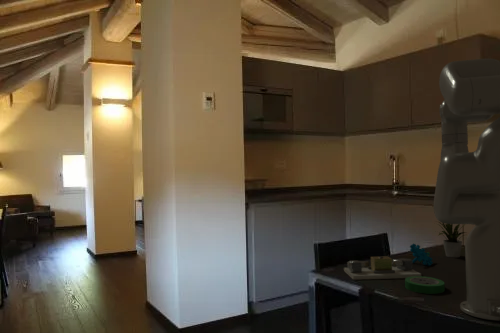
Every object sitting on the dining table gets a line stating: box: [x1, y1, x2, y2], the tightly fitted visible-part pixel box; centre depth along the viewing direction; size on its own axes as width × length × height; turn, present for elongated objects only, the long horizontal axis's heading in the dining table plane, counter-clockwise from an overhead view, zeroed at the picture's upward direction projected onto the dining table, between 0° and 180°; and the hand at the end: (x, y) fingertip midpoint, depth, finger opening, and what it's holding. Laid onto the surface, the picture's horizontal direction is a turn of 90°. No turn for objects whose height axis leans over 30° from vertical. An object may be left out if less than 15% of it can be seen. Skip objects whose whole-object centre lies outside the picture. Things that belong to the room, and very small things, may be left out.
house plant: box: [435, 220, 468, 258], centre depth 168 cm, size 14×14×16 cm
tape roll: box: [404, 275, 446, 295], centre depth 123 cm, size 11×11×3 cm
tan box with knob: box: [370, 255, 393, 271], centre depth 141 cm, size 6×4×5 cm, turn 92°
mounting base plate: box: [343, 265, 422, 281], centre depth 141 cm, size 12×23×2 cm, turn 92°
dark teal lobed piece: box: [409, 243, 434, 267], centre depth 155 cm, size 11×6×10 cm
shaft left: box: [346, 259, 370, 273], centre depth 141 cm, size 7×4×4 cm, turn 92°
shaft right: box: [392, 257, 414, 271], centre depth 142 cm, size 7×4×4 cm, turn 107°
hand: (456, 193), depth 130 cm, fingers open, 9 cm apart
